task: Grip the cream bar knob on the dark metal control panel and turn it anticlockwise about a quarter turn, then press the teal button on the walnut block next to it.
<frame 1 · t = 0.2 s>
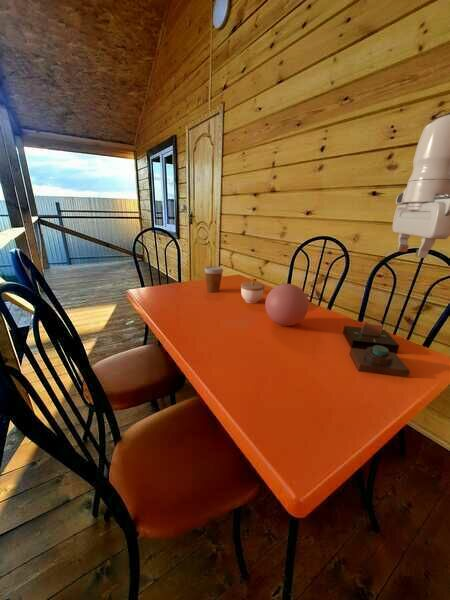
hand: (410, 254, 64), 31 cm above the table, tool pointing down, fingers open, 8 cm apart
panel: (367, 343, 83), on the table
disposable coffee cup: (213, 290, 133), on the table
trinket box: (251, 301, 119), on the table
knob: (371, 328, 82), point 5 cm above the table, hinge at 0.0°
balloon: (288, 323, 97), on the table
button block: (376, 365, 71), on the table
button: (380, 351, 70), point 4 cm above the table, slide at 0.1 cm
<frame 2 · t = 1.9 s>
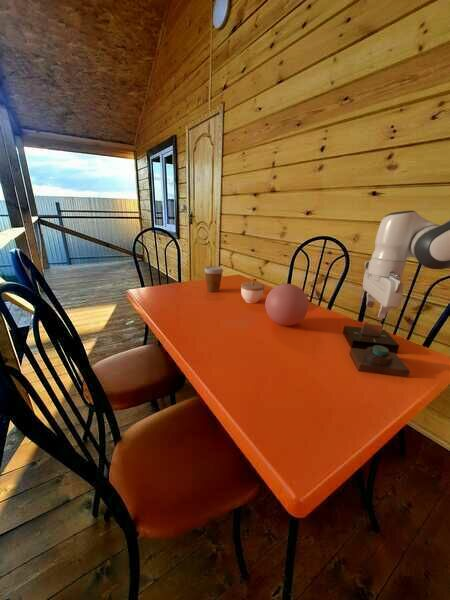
hand: (374, 311, 80), 11 cm above the table, tool pointing down, fingers open, 8 cm apart
nothing on the table moved.
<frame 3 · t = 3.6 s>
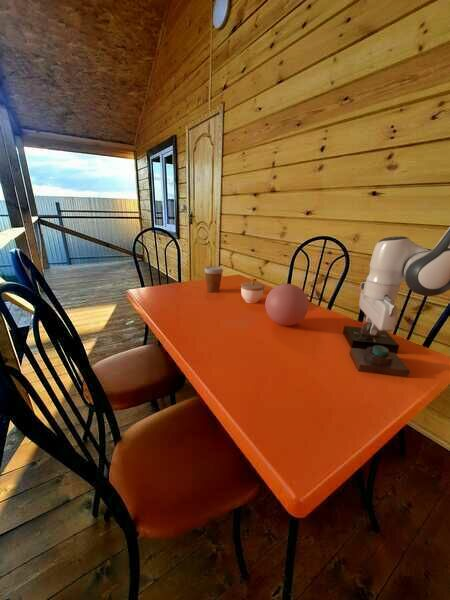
hand: (370, 331, 82), 4 cm above the table, tool pointing down, fingers closed on knob, 2 cm apart
knob: (371, 328, 82), point 5 cm above the table, hinge at 0.0°, touching gripper
everything else where it was.
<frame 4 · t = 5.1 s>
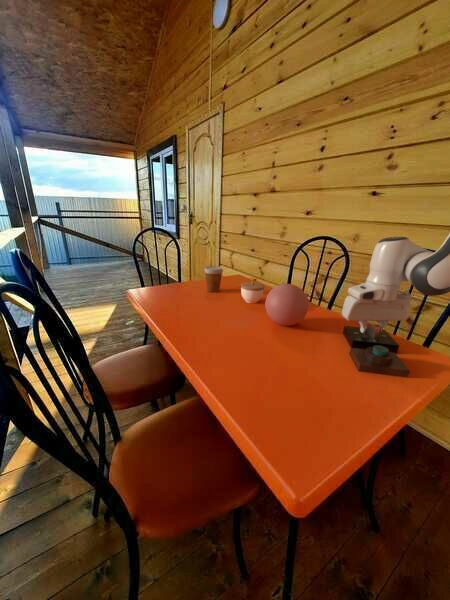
hand: (370, 332, 82), 4 cm above the table, tool pointing down, fingers open, 3 cm apart
knob: (371, 328, 82), point 5 cm above the table, hinge at 105.1°
everything else where it was.
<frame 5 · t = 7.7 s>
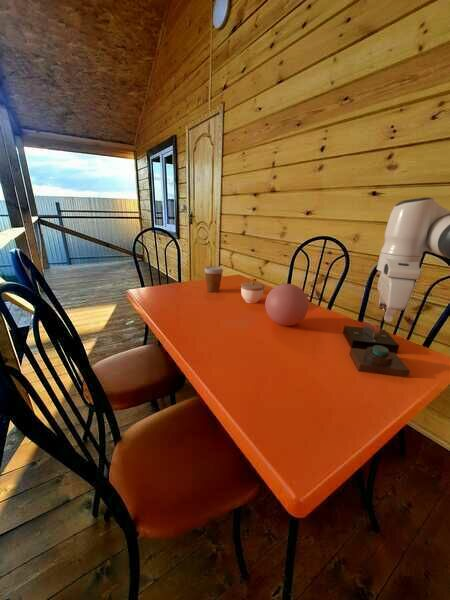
hand: (384, 314, 70), 14 cm above the table, tool pointing down, fingers open, 8 cm apart
nothing on the table moved.
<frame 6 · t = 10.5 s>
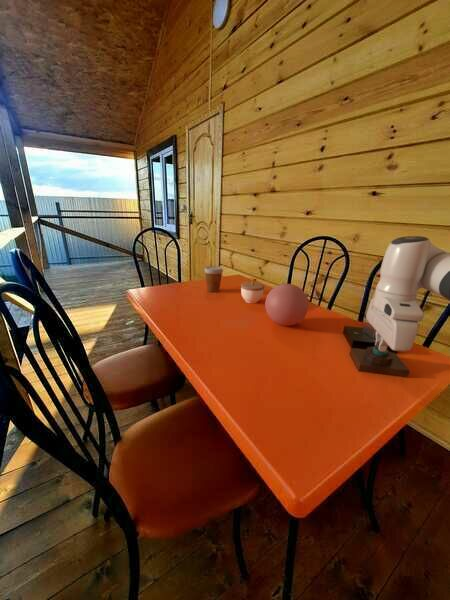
hand: (380, 348, 69), 5 cm above the table, tool pointing down, fingers closed, pressing on button
button: (379, 352, 70), point 4 cm above the table, slide at -0.2 cm, touching gripper
everything else where it was.
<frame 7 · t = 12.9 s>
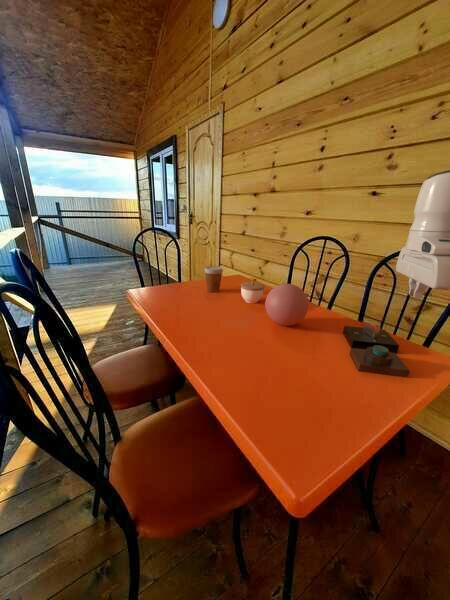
hand: (414, 296, 67), 20 cm above the table, tool pointing down, fingers closed
button: (380, 351, 70), point 4 cm above the table, slide at 0.1 cm
everything else where it was.
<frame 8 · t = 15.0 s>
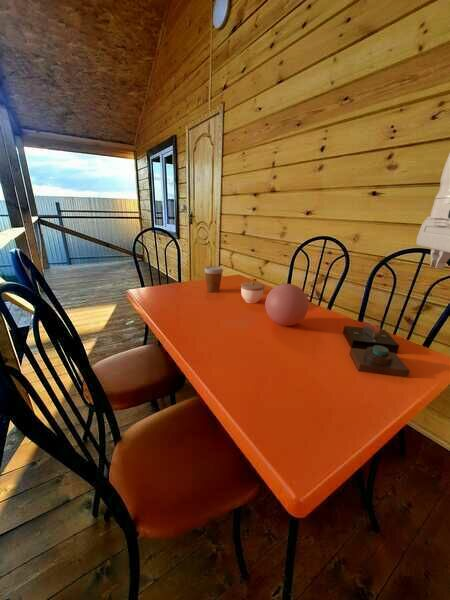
hand: (436, 267, 66), 27 cm above the table, tool pointing down, fingers closed
nothing on the table moved.
at the end: knob at +105° (first picture: +0°); button pushed in 1.1 cm at the most during the clip, back to where it started at the end; button slide at 0.1 cm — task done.
